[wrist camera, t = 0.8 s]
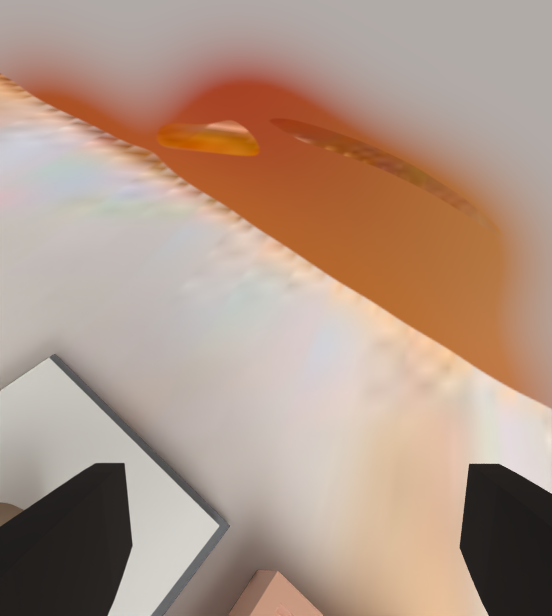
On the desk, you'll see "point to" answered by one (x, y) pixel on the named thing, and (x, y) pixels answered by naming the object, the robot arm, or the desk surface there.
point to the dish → (272, 598)
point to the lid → (82, 454)
